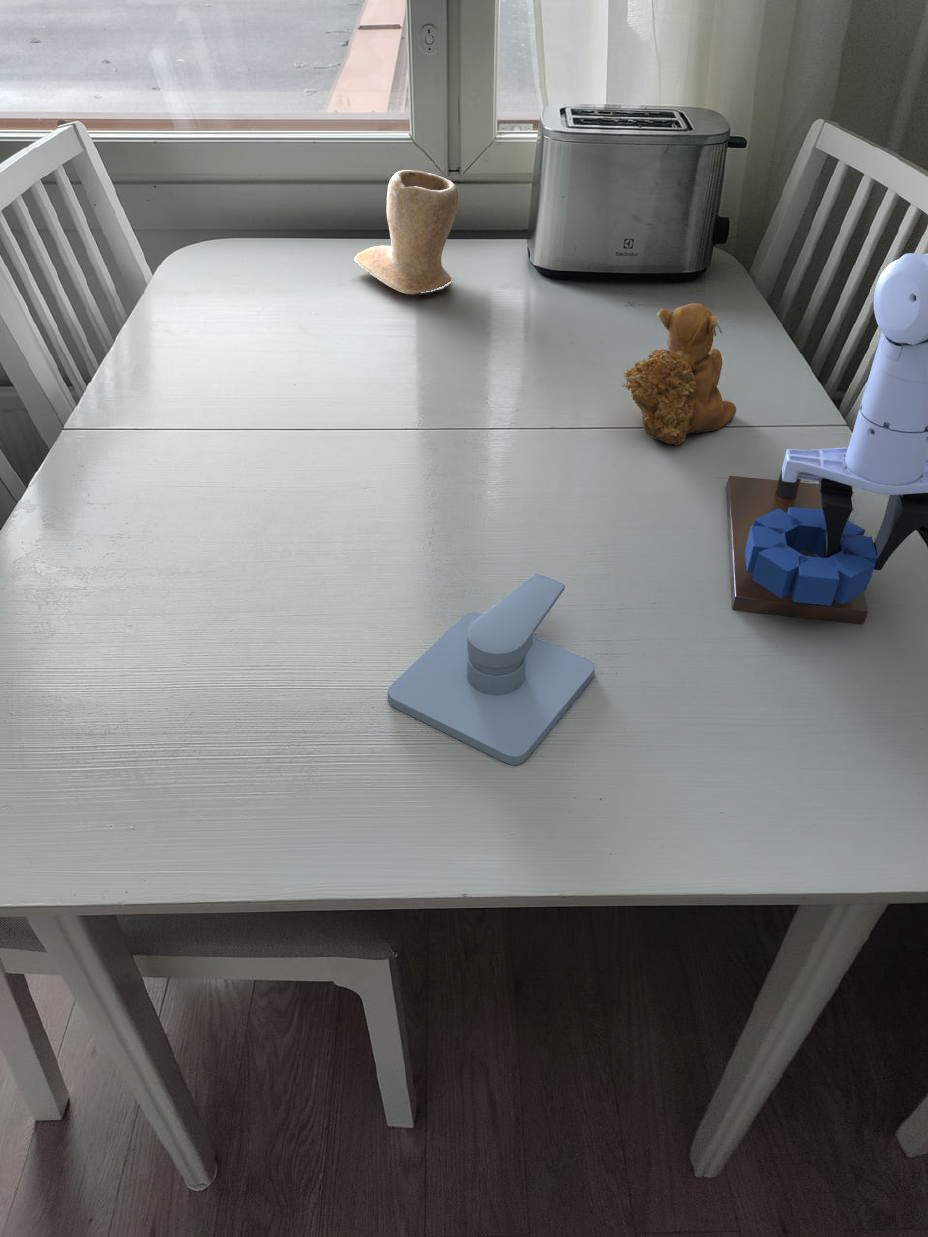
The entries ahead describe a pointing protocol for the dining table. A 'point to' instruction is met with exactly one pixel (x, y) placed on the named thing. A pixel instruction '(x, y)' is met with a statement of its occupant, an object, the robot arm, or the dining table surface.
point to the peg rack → (768, 495)
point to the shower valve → (496, 676)
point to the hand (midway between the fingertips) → (852, 560)
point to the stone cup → (414, 233)
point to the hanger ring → (805, 576)
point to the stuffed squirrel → (681, 378)
